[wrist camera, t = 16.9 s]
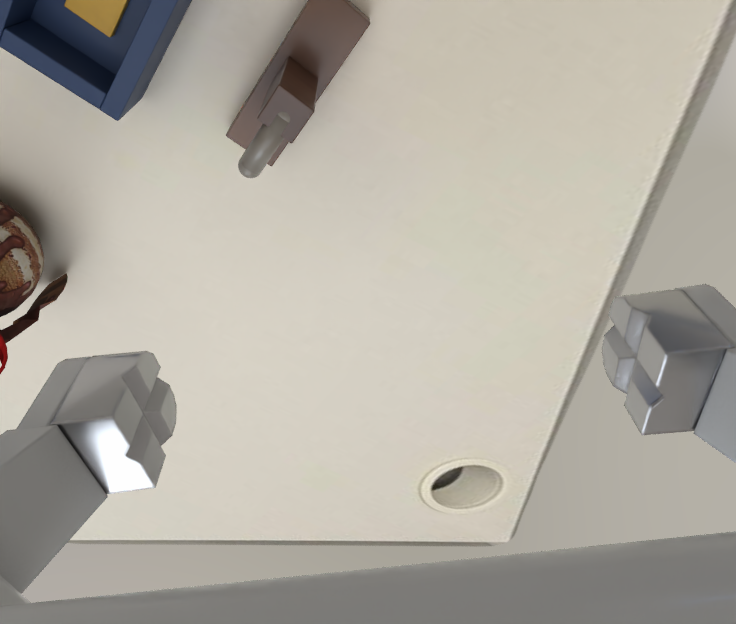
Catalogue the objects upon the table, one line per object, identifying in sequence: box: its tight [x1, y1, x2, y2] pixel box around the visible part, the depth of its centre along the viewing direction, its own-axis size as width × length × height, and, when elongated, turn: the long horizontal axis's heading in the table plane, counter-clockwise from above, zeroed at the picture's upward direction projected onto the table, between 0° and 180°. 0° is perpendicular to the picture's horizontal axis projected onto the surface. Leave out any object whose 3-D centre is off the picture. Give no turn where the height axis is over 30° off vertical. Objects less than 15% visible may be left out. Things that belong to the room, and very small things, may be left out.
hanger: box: [226, 0, 370, 178], centre depth 28 cm, size 10×3×8 cm, turn 141°
